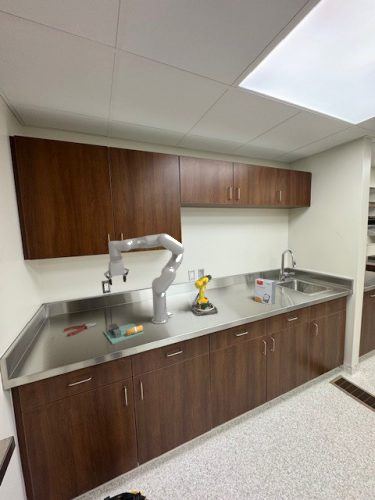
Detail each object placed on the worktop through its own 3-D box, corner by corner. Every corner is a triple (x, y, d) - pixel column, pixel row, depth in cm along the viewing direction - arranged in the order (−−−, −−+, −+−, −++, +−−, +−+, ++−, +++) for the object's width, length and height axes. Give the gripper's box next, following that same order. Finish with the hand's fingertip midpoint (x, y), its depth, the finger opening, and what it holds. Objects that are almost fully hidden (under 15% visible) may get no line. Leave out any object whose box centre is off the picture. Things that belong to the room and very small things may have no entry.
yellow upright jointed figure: (220, 313, 163) (219, 278, 161) (196, 316, 159) (195, 280, 156) (211, 305, 181) (210, 273, 179) (190, 308, 177) (189, 275, 174)
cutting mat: (133, 323, 150) (132, 317, 150) (144, 333, 135) (143, 326, 134) (103, 332, 138) (103, 325, 138) (112, 344, 123) (112, 337, 123)
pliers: (100, 327, 148) (99, 323, 147) (67, 337, 134) (67, 333, 134) (94, 322, 156) (94, 319, 156) (63, 331, 143) (63, 328, 143)
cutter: (115, 328, 141) (115, 323, 141) (122, 336, 131) (121, 330, 131) (108, 330, 139) (108, 325, 138) (115, 338, 128) (114, 332, 128)
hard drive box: (254, 301, 188) (254, 279, 186) (258, 299, 193) (258, 277, 191) (271, 305, 176) (271, 282, 175) (275, 303, 181) (275, 280, 180)
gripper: (125, 257, 153) (127, 280, 154) (101, 260, 142) (103, 285, 143) (129, 257, 147) (131, 281, 148) (104, 261, 136) (107, 286, 138)
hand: (117, 283), depth 146 cm, fingers open, 9 cm apart
